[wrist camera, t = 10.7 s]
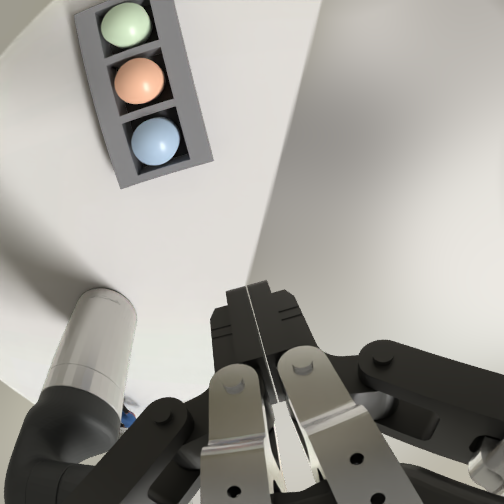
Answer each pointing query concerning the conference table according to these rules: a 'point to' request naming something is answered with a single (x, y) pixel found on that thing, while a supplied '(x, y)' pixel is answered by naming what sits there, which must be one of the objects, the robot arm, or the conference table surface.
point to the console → (118, 119)
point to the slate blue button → (156, 140)
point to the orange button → (139, 81)
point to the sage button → (127, 26)
